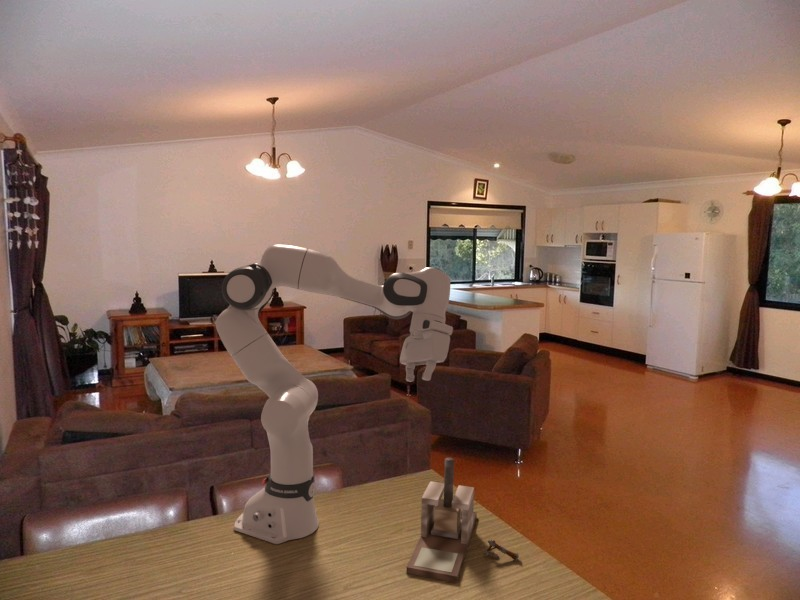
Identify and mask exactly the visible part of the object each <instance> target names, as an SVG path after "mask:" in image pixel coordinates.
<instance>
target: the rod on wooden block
mask: <svg viewBox="0 0 800 600" xmlns="http://www.w3.org/2000/svg"><path fill="white" fill-rule="evenodd" d="M454 473H455V459H454V458H452V457H446V458H444V476H443V478H444V479H443V483H444V493H443V499H442V498H441V499H440V502H439V504H438V506H436V505H435V506H436V507H435V510H434V526H433V528H432V530H431V535H437V536H443V537H449V538H455V539H458V537H459V534H460V531H461V528H462V520H461V510H462V509H456V508H452V500H453V498H454V482H455V481H454V478H455V477H454V475H455V474H454Z"/></svg>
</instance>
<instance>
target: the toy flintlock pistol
mask: <svg viewBox="0 0 800 600" xmlns="http://www.w3.org/2000/svg"><path fill="white" fill-rule="evenodd" d="M487 544H488V545H489V546H488V548H487V549H486V551H485V553H484V556H485V557H487V556H488V555H490V556H491V558H494V559H495V560H496V559H497V560H498V559H500V556H499V554H498V553H495V551H493V552H491V551H492V550H496V549H497V550H498V551H499V552H500V553H502V554H504V555H507V556H509V557H510V558H511V559H513V561H514V562H515V563H517V561H518V559H519V557H520V554H519V553H520V552H512V551H511V550H508V549H507V548H505V547H504V546H502V545H499V544H498V543H496V540H495V539H494V540H492V539H488V540H487Z"/></svg>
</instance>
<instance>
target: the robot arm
mask: <svg viewBox="0 0 800 600" xmlns="http://www.w3.org/2000/svg"><path fill="white" fill-rule="evenodd" d="M279 287H285V288H286V287H287V288H291V289H296V290H299V291H304V292H309V293H315V294H321V295H327V296H332V297H336V298H337V297H338V298H341V299H344V300H348V301H351V302H354V303H357V304H360V305H365V306H368V307H371V308H373V309H376V310H377V311H378V312H380V313H381V314H383V315H384V316H385V317H387V318H388V319H389V318H390V319H392V320H401V319H404V318H407V317H408V316H410V314H411V313H412V316H411V321H410V325H409V330H408V331H409V336H407V337H406V338H405V339H404V342H403V345H402V349H401V352H400V355H399V356H400V357H399V364H401V365H404V366H405V373H406V376H405V381H406V382H410V383H412V382H414V381H415V376H416V375H414V372H415V371H414V370H415V367H416V366H422V365H423V366H424V365H426V367H425V369H424V372H422V376H421V379H422V380H423V381H427V382H428V381H431V379H432V375H433V372H434V371H435V369H436V366H437V363H438V364H439V363H444V362H445V361H446V360H447V358H448V353H449V348H450V343H451V336H452V334H453V331H454V327H453V326H452V325H451V326H450V325H449V324H446V320H447V319H446V312H447V308H448V306H449V303H450V297H451V296H450V295H451V279H450V277H449V275H448V274H446V272H445V271H443V270H441V269H439V268H437V267H430V266H429V267H424V268H423V269H421V270H417V271H413V272H395V273H391V274H390V275H389V276H387V278H386V279H385V280H384V282H383V285H382V284H381V285H379V284H376V283H373V282H369V281H365V280H362V279H359V278H357V277H356V278H355V277H353V276H351V275H349V274H348V273H347V272H346V271H344V270H343V268H342V267H341V266H340V265H339V264H338V262H337V261H336V260H335V258H334V257H333V256H330V255H328V254H326V253H324V252H321V251H318V250H315V249H312V248H307V247H303V246H298V245H290V244H278V243H277V244H272V245H270V246H268V247H267V248H266V249H265V250H264V252H263V254H262V256H261V259H260V262H259V263H257V262H255V263H252V264H251V263H250V264H247V265H243V266H240V267H237V268H234V269H232V270H231V271H229V273H227V275H226V276H225V278H224V279H223V281H222V286H221V292H222V297H223V299H224V300H225V302H226V303H228V304H229V305H228V306H227V308H225V309H224V310H222V312H221V313H220V314H219V315H218V316H217V318H216V320H215V324H214V325H215V328H216V331H217V334H218V336H219V338H220V341H221V342H222V344H223V346H224V348H225V350H226V351H227V353H228V354H229V356H230V357H231V359H232V360H233V361H234V363H235V365H236V366H237V367H238V369H239V370H240V371H241V373H242V375H243V376H244V377H245V379H246V380H247V381H248V382H249V383H250V384H252V385H255V386H256V387H257V388H259V389H260V390H261V391H263V393H265V394H266V396H267V397H268V399H267V400H266V402H265V403H264V406H263V408H262V411H261V416H260V421H261V425H262V427H263V429H264V431H266V435H267V440H268V443H269V444H268V445H269V449H270V472H269V473H268V474H267V475H266V476H265V478H264V479H263V480H262V481H261V483H262V484H261V486H264V485H265V486H264V487H263V488H261V489H260V490H259V491H257V492H256V493H255V494H254V495H252V496H251V497H250V498H249V499H248V500H247V502H246V503H245V505H244V509H243V512H242V513H241V514H240V515H239V516H238V517H237V519H235V522H234V526H233V530H234V531H236V532H239V533H242V534H245V535H247V536H251V537H254V538H257V539H259V540H263V541H266V542H269V543H272V544H273V545H279V544H282V543H284V542H287V541H291V540H298V539H302V538H305V537H308V536H310V535H312V534H313V533H314V532H315V531H317V530H318V528H319V525H320V521H319V519H318V516H317V512H316V506H315V505H316V504H315V497H314V496H315V489H316V486H315V473H314V468H313V467H314V450H313V449H314V447H313V443H312V442H311V438H310V433H309V421H310V417H311V415H312V413H313V412H314V411H315V409H316V407H317V405H318V401H319V400H318V399H319V391H318V388H317V386H316V384H315V383H314V382H313V381H312V380H310V379H308V378H306V377H305V376H304V375H303V374H302V373H301V372H300V371H299V370H298V369H297V368H296V367H295V366H294V365H293V364H291V362H290V361H289V360H288V359H287V358H286V357H285V356H284V354H283V353H282V351H281V350H280V348H279V347H278V345H277V344H276V343H275V342H274V340H273V338H272V337H271V336H270V334H269V333H268V331H267V330H266V329H265V327H264V326H263V324H262V322H261V321H260V318H259V314H260V313H261V312H262V310H263V309H264V308H265V307H266V306H267V304H268V303H269V302H270V301H271V299H272V297H273V296H274V292H275V288H279Z"/></svg>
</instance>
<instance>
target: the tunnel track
mask: <svg viewBox="0 0 800 600" xmlns="http://www.w3.org/2000/svg"><path fill="white" fill-rule="evenodd" d="M443 496H444V482H437V481H431V480H430V482H429V483H428V485H427V487H426V489H425V490H424V492H423V494H422V497H421V509H420V511H421V513H420V515H421V516H420V517H421V518H420V538H419V539H418V542H417V544H416V546H415V548H414V550H413V553H412V555H411V557H410V559H409V561H408V564H407V565H406V572H405V573H406V574H408V575H409V574H410V575H414V576H415V575H416V576H421V577H424V578H431V579H436V580H440V581H441V580H442V581H447V582H452V583H456V584H457V583H458V580H459V578H460V574H461V571H462V567H463V564H464V560H465V557H466V554H467V552H468V551H467V550H468V547H469V543H470V541H471V540H470V539H471V536H472V534H473V531H474V527H475V523H476V521H477V517H478V516H477V513H478V512H475V511H474V502H475V500H474V499H475V487H473V486H467V485H461V484H460V485H459V484H458V486H457V489H456V491H455V493H454V495H453V500H452V508H456V509H461V520H462V528H461V531H460V534H459V537H458V539H455V538H449V537H443V536H437V535H431V530H432V528H433V526H434V510H435V507H436V506H438V504H439V502H440V499H442V497H443Z"/></svg>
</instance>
